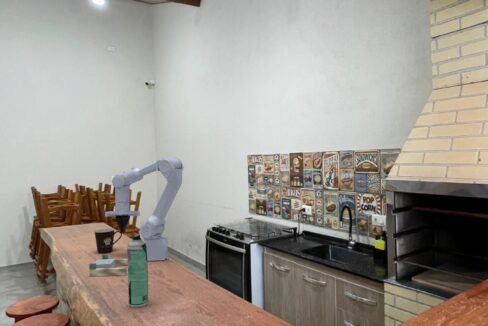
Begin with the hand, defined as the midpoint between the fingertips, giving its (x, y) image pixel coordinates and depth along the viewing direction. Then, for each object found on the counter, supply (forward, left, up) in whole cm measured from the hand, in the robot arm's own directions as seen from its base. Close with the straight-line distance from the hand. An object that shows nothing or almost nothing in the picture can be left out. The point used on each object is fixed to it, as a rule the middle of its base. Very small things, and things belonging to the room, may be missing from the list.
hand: (122, 232), depth 155 cm
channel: (-3, +20, -10) cm, 23 cm away
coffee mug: (+10, -9, -11) cm, 17 cm away
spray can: (-21, +53, -11) cm, 58 cm away
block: (+1, +19, -11) cm, 22 cm away
